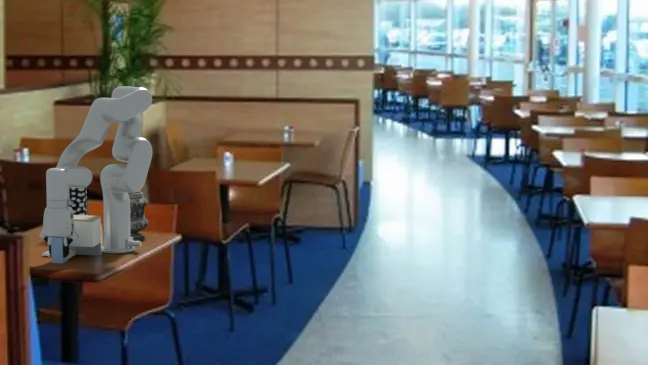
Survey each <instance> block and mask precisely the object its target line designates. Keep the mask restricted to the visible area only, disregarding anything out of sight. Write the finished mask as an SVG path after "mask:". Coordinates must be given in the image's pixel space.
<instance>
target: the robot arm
mask: <svg viewBox="0 0 648 365" xmlns="http://www.w3.org/2000/svg"><path fill="white" fill-rule="evenodd" d="M152 102H153V96H152V94H151V91H149V89H147V88H145V87H139V86H129V85H128V86H125V85H124V86H123V85H122V86H117V87H115V88H114V89H113V90H112V92H111V97H97V99H95V100H94V101H92V103H91V105H90V109H89V110H88V112H87V115H86V117H85V121H84V123H83V125H82V128H81V130H80V132H79V134H78V135H77V137H75V139H73V140H72V141H71V142H70V143H69V145H68V146H67V147H66V148H65V149H64V150H63V151H62V153H61V155H60V157H59V159H58V162H57V165H56V167H51V168H48V169H47V170H46V173H45V178H46V181H45V184H46V185H45V187H46V207H45V209H44V213H43V221H42V230H40V232H39V234H38V236H39V237H40V239H42V240H44V241H45V243H46V244H47V246H48V251H49V254H50V257H49V258H51V237H63V241H64V246H63V257H64V258H65V257H67V256H68V255H69V245H70V244H71V243H72V242H73V241H74V240H75V239H77V238H78V237H79V236H78V234H77V232H76V231H75V222H74V215H73V210H72V208H71V207H69V206H70V205H73V201H70V199H69V188H84V187H89V185H90V184H92V181H93V173H92V171H91V170H90V169H88V168H87V167H86V166H82V165H81V166H80V165H78V163H79V162H80V159H82V157H84V156H85V155H86V154H88V153H89V152H91V151H93V150H95V149H97V148H99V147H101V145H103V143H104V142H105V139H106V135H107V133H108V131H109V129H110V126H111V124H112V123H115V124H116V123H118V127H117V130H116V133H115V134H116V135H115V138H114V142H113V145H112V149H111V154H112V157H113V159H115V160H116V161H119V162H124V163H127V164H117V163H111V164H108V165H106V166H105V167H103V169H102V170H101V172H100V177H99V180H100V185H101V186H100V187H101V190H102V198H103V199H102V202H103V245H101V253H105V254H125V253H131V252H134V251H136V250H135V249H136V248H139V247H140V248H141V247H142V241H140V240H133V237H130V199H129V195H128V193H136V192H138V191H141V190H142V188H144V185H145V182H146V180H147V176H148V173H149V169H150V166H151V163H152V162H151V161H152V158H153V146H152V144H151V143H150V141H149V140H148V139H147V138H144V137H141V136H142V131H143V117H142V113H144V112H145V111H147V110H148V109H149V108H151V105H152ZM71 235H73V237H71V238H69V237H70V236H71Z"/></svg>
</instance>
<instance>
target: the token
mask: <svg viewBox="0 0 648 365" xmlns="http://www.w3.org/2000/svg"><path fill="white" fill-rule="evenodd" d="M41 256H48V257H47V258H51V257H50V254H49V250H47V251H45V252H43V253H42V254H41Z"/></svg>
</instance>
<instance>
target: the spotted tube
mask: <svg viewBox="0 0 648 365" xmlns="http://www.w3.org/2000/svg"><path fill="white" fill-rule="evenodd" d="M87 187H88V186H87ZM87 187H84V188H69V199H70V201H73V205H70V206H69V207H71V208H72V210H73V215H88V200H87V199H88V197H87V196H88V194H87V193H88V192H87Z"/></svg>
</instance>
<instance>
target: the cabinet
mask: <svg viewBox="0 0 648 365" xmlns="http://www.w3.org/2000/svg"><path fill="white" fill-rule="evenodd" d="M74 222H75V231H76V232H77V234H78V236H79V237H78V238H77V239H75V240H74V241H73V242H72V243H71V244H70V245H69V250H76V255H83V256H85V255H86V256H101V255H102V252H101V246H102V229H101V228H102V215H88V214H87V215H74ZM71 237H73V235H71V236H70V237H69V238H71Z"/></svg>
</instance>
